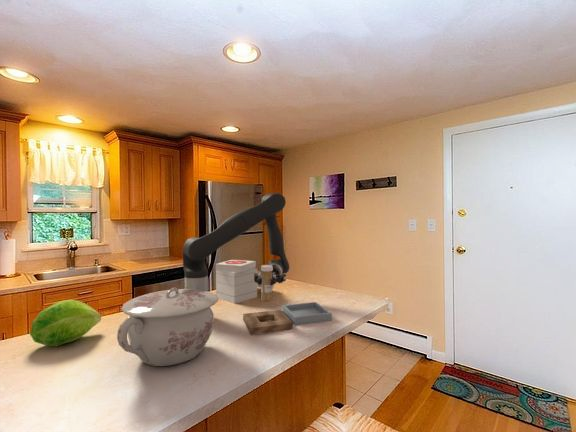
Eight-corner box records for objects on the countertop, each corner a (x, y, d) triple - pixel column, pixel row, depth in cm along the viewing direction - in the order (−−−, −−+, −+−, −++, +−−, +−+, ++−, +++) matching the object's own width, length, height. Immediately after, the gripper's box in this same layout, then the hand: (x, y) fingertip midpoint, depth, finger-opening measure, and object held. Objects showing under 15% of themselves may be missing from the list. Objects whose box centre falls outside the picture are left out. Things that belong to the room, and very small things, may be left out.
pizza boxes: (277, 292, 163) (277, 259, 163) (233, 305, 140) (233, 267, 140) (253, 286, 176) (253, 256, 175) (209, 297, 153) (209, 262, 153)
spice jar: (269, 302, 114) (270, 267, 113) (258, 301, 115) (259, 266, 115) (274, 298, 118) (274, 264, 118) (263, 297, 119) (263, 264, 119)
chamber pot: (208, 331, 110) (207, 275, 110) (228, 364, 86) (228, 293, 85) (121, 346, 97) (120, 283, 97) (116, 391, 73) (116, 307, 73)
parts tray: (294, 325, 116) (294, 317, 116) (282, 312, 131) (282, 305, 131) (331, 320, 121) (331, 313, 121) (315, 308, 136) (315, 301, 136)
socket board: (250, 335, 106) (250, 328, 106) (243, 319, 122) (243, 313, 122) (293, 329, 111) (293, 323, 111) (280, 315, 127) (280, 309, 127)
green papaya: (110, 336, 105) (110, 298, 105) (37, 359, 89) (37, 313, 89) (92, 326, 114) (92, 291, 114) (23, 345, 98) (23, 304, 98)
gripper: (256, 264, 131) (247, 272, 114) (289, 265, 130) (284, 273, 113) (256, 281, 131) (247, 291, 114) (289, 282, 130) (283, 293, 113)
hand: (265, 282), depth 114 cm, fingers closed on spice jar, 4 cm apart
